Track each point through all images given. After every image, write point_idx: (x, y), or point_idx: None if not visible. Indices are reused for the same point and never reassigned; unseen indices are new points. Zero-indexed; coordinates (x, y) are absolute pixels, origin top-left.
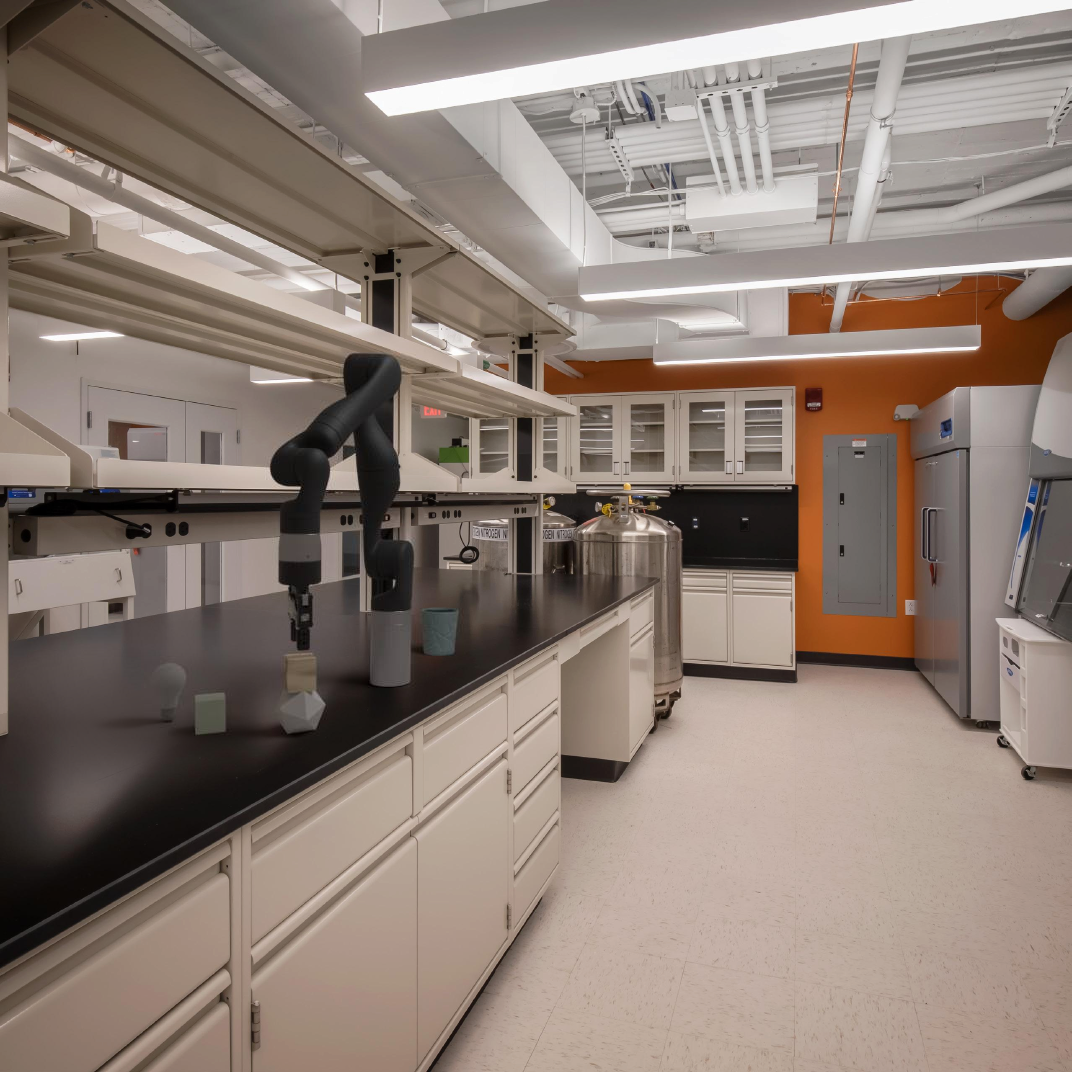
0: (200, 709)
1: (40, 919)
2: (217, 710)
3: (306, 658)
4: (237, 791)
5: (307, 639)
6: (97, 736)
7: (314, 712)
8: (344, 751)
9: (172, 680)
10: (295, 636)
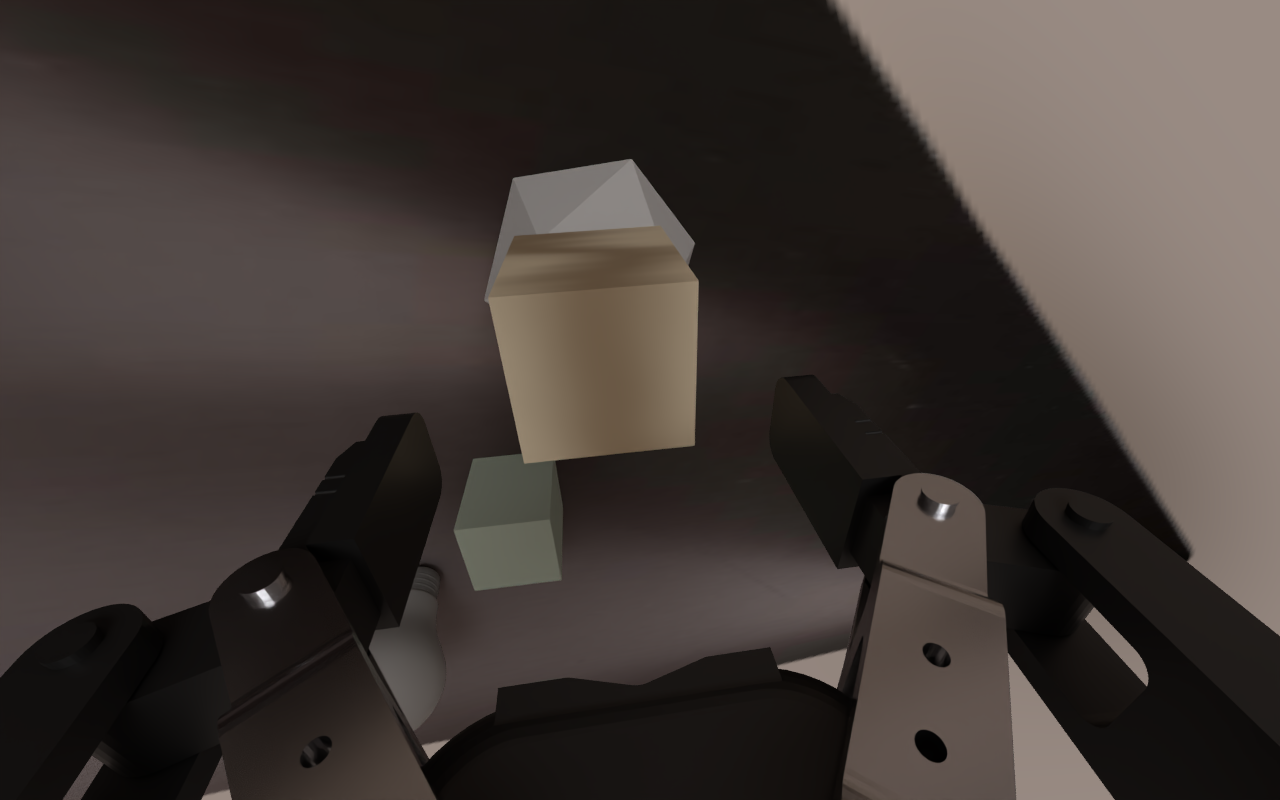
0: (560, 551)
1: (1184, 553)
2: (554, 511)
3: (685, 346)
4: (991, 401)
5: (878, 435)
6: (527, 647)
7: (669, 214)
8: (895, 108)
9: (435, 674)
10: (425, 483)
